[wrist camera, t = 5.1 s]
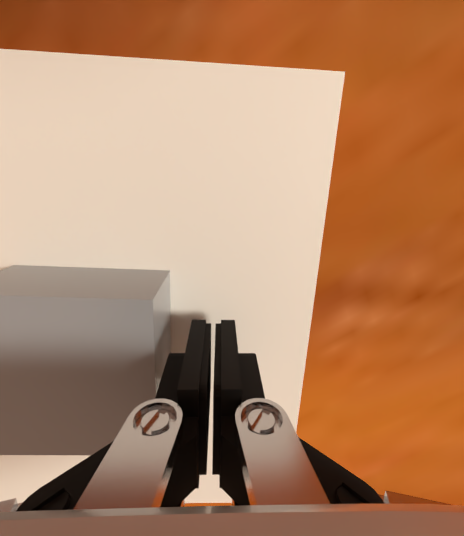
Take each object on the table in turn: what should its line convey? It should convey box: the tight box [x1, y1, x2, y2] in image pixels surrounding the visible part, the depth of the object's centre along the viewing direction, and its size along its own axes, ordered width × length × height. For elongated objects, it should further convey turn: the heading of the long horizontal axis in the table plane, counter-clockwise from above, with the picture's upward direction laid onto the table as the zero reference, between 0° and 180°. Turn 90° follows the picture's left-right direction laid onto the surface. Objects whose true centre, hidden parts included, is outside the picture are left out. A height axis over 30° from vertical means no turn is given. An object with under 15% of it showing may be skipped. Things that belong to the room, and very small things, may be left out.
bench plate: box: [0, 49, 345, 503], centre depth 13 cm, size 20×16×3 cm
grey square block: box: [0, 265, 171, 455], centre depth 11 cm, size 6×6×3 cm
